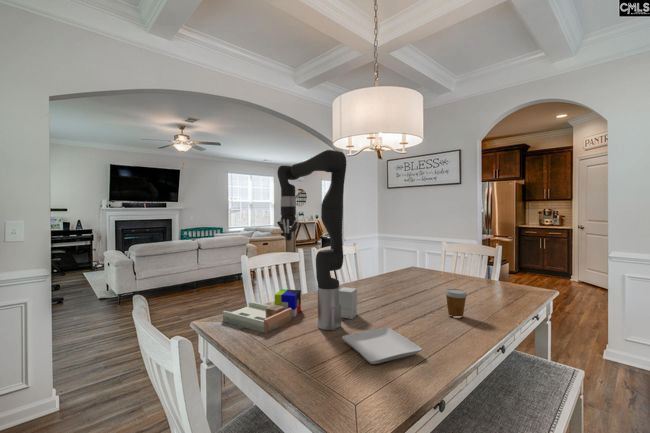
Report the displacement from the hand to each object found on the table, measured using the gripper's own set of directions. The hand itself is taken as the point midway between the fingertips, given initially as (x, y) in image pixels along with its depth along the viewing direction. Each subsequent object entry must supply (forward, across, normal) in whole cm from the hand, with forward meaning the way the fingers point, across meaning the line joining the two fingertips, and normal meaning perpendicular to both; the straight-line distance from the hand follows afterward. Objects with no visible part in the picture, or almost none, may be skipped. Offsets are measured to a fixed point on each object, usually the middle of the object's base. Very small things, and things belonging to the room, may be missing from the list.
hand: (288, 240), depth 152 cm
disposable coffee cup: (+35, -73, -34) cm, 88 cm away
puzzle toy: (+35, -2, +3) cm, 35 cm away
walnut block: (+32, -5, +16) cm, 36 cm away
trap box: (+35, +3, +19) cm, 40 cm away
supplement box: (+35, -29, -8) cm, 46 cm away
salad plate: (+36, -55, +17) cm, 68 cm away
